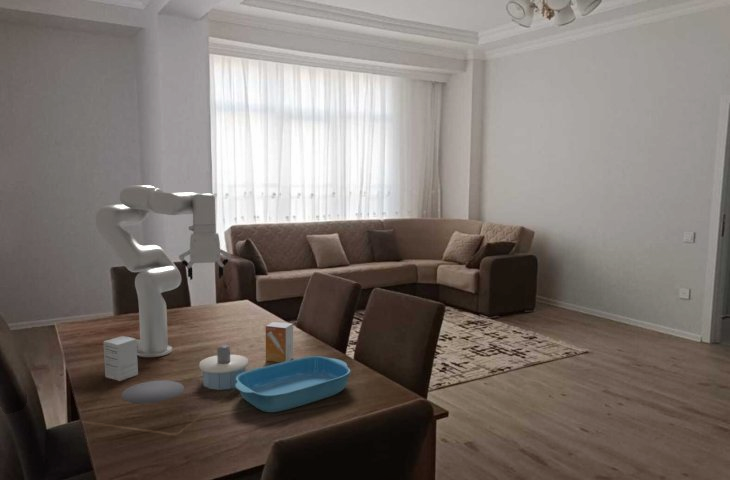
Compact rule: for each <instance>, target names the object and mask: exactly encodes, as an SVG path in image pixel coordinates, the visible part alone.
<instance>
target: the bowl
mask: <svg viewBox="0 0 730 480" xmlns="http://www.w3.org/2000/svg"><path fill="white" fill-rule="evenodd" d="M243 372H246V367H245V368H243V369H241V370H238V371H235V372H229V373H209V372H205V371H202V383H203V384H202V385H203V387H205V388H207V389H210V390H216V391H217V390H218V391H219V390H220V391H221V390H231V389H232V390H237V389H236V387H235V385H236V383H237V382H236V377H237V376H238V375H239V374H241V373H243Z"/></svg>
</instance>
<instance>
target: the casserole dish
mask: <svg viewBox="0 0 730 480" xmlns="http://www.w3.org/2000/svg"><path fill="white" fill-rule="evenodd" d="M350 374H351V369H350V367H348V364H347V362H345V360H344V361H343V360H342V359H338V358H333V357H326V356H321V355H319V356H318V355H313V356H304V357H299V358H295V359H291V360H290V361H286V362H282V363H281V362H277V363H275V364H271V365H270V364H269V365H266V366H261V367H257V368H254V369H250V370H247V371H246V370H245V372H243V373H241V374H239V375H238V376H237V377H236V382H237V383H236V385H235V387H236V389H235V390H238V391H239V392H240V394H241V397H242V398H243V399H244V400H245V401H246V402H248V403H249V404H250V405H252V406H253V407H255V408H256V409H258V410H260V411H261V412H262V411H263V412H265V413H278V412H283V411H286V410H287V411H288V410H291V409H294V408H297V407H301V406H304V405H305V406H306V405H307V404H311V403H314V402H317V401H320V400H324V399H326V398H330V397H333V396H335V395H337V394H339V393H340V392H342V391H343V390H344V388H345V387H347V386H346V385H347V383H348V382H349V381H348V380H349V377H350Z"/></svg>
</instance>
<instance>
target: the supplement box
mask: <svg viewBox="0 0 730 480" xmlns="http://www.w3.org/2000/svg"><path fill="white" fill-rule="evenodd" d="M136 340H137V339H136V338H135V337H134V338H133V337H129V336H125V335H120V336H117V337H113V338H110V339H107V340H104V341H103V355H104V356H103V357H104V375H105V378H107V379H112V380H115V381H118V382H121V381H123V380H127V379H129V378H132V377H135V376H137V375H139V367H138V366H139V365H138V355H137V350H138V346H137V342H136Z"/></svg>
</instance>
